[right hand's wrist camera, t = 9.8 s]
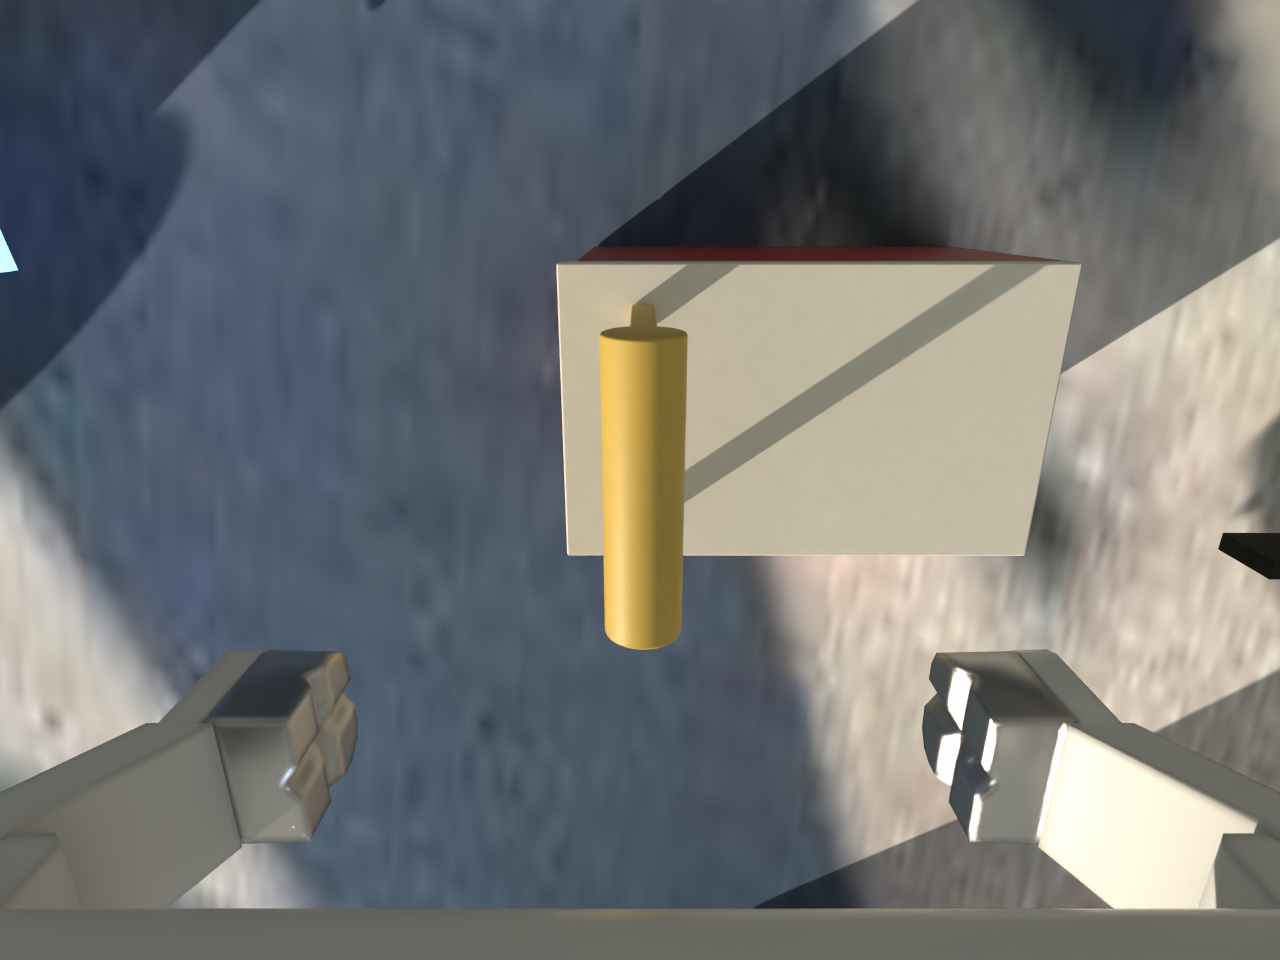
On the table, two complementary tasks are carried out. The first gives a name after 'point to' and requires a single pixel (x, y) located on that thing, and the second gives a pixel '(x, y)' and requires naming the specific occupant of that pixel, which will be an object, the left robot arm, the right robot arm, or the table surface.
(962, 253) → the chest
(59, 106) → the table surface
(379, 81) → the table surface
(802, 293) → the lid
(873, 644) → the table surface
